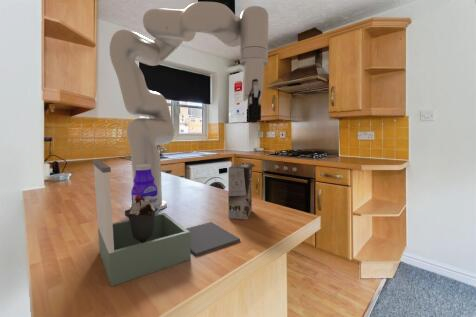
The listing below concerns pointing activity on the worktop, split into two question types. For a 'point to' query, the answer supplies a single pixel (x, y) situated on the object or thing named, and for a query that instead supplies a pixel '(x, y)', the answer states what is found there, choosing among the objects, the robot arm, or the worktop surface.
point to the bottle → (145, 185)
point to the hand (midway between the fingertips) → (253, 121)
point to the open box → (120, 235)
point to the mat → (209, 238)
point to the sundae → (141, 218)
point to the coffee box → (240, 191)
